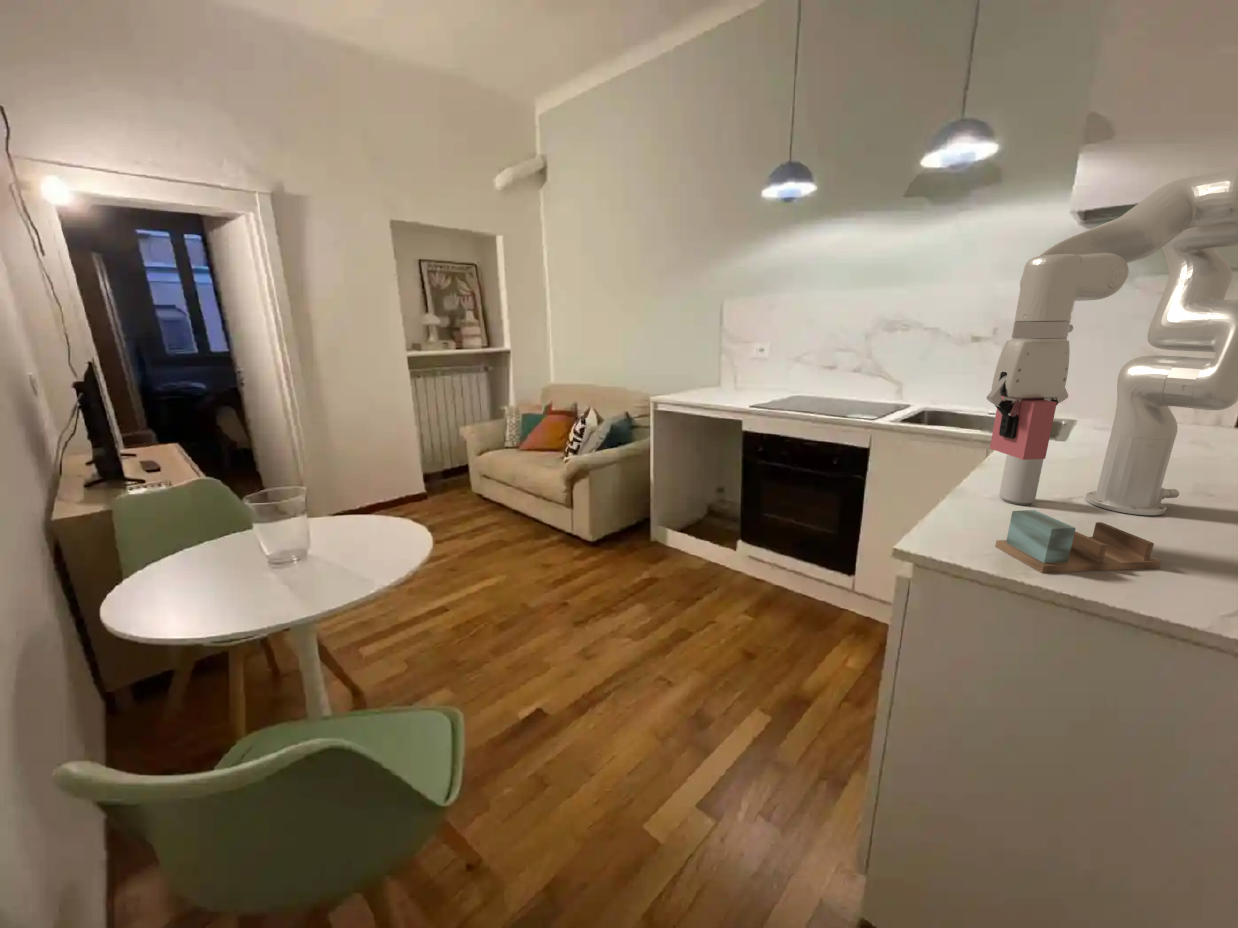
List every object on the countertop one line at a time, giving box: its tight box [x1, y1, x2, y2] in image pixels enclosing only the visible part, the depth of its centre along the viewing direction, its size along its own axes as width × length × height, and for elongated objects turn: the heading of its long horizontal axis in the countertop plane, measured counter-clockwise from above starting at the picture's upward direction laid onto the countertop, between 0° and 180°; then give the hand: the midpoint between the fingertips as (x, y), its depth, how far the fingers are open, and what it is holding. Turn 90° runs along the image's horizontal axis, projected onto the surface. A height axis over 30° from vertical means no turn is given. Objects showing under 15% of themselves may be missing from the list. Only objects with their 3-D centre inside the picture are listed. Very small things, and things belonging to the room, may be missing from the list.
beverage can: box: [998, 454, 1044, 506], centre depth 114 cm, size 6×6×12 cm
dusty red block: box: [989, 396, 1058, 460], centre depth 93 cm, size 4×8×10 cm, turn 2°
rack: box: [995, 509, 1162, 574], centre depth 88 cm, size 20×10×7 cm, turn 93°
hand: (1019, 435), depth 94 cm, fingers closed on dusty red block, 4 cm apart
